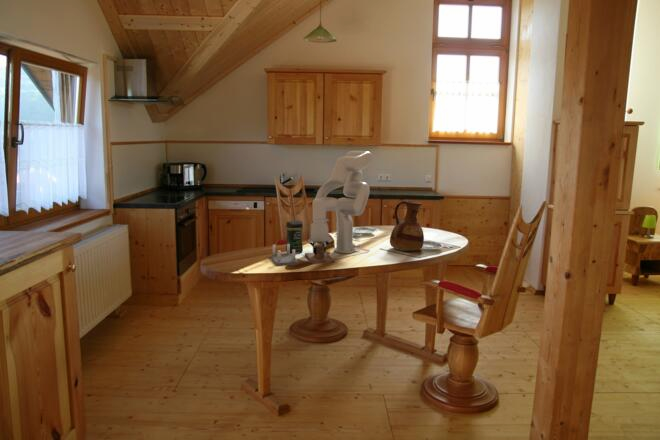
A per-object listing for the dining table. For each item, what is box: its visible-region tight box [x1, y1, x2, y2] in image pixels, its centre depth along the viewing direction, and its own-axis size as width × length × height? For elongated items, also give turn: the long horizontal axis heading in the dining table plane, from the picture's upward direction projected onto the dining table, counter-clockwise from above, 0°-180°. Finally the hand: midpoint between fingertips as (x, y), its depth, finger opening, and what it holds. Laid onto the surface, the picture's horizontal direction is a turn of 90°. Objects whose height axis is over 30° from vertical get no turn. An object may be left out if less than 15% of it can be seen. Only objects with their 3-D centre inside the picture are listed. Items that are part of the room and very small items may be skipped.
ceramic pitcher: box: [389, 199, 425, 252], centre depth 309 cm, size 20×20×30 cm
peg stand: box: [269, 244, 300, 267], centre depth 283 cm, size 12×20×8 cm, turn 17°
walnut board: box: [304, 244, 335, 264], centre depth 289 cm, size 12×20×8 cm, turn 15°
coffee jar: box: [285, 220, 304, 254], centre depth 302 cm, size 10×8×19 cm
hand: (319, 253), depth 289 cm, fingers closed on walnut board, 4 cm apart
